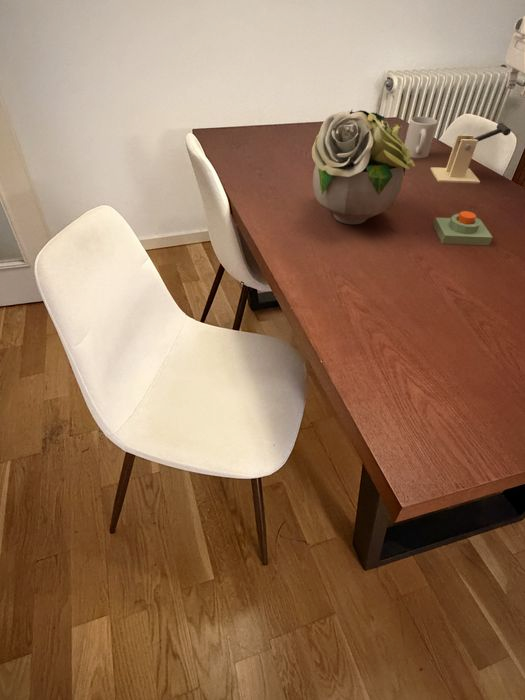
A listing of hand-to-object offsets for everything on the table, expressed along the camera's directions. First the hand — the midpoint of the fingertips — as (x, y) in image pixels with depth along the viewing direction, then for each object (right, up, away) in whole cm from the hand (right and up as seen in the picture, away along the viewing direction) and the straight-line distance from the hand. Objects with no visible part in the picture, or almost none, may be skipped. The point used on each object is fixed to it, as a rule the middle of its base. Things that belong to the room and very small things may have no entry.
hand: (516, 92), depth 106 cm
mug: (-16, -3, +29) cm, 33 cm away
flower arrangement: (-44, -34, -2) cm, 56 cm away
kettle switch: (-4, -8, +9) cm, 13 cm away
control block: (-19, -40, -8) cm, 45 cm away
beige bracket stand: (-9, -16, +17) cm, 25 cm away
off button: (-19, -37, -10) cm, 43 cm away
